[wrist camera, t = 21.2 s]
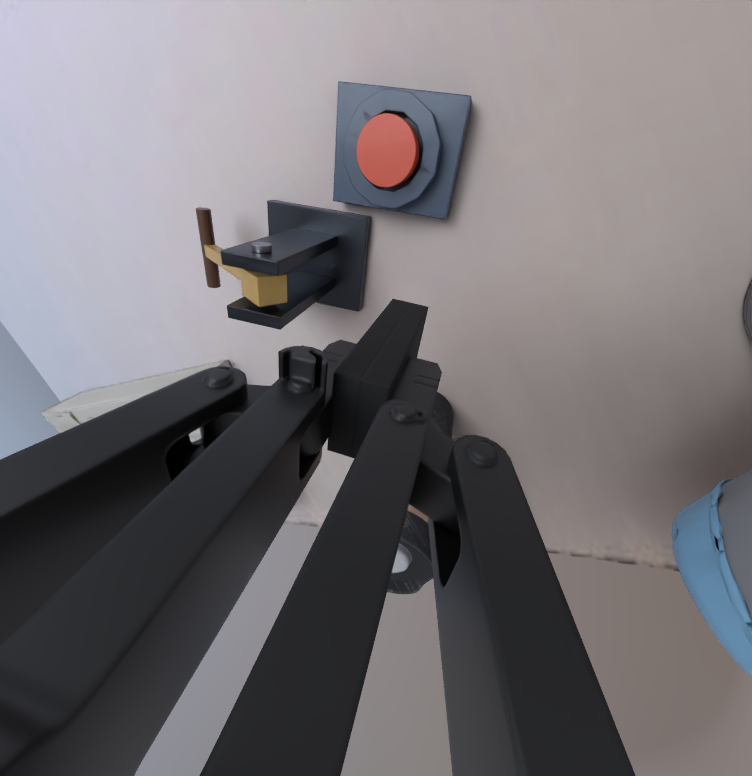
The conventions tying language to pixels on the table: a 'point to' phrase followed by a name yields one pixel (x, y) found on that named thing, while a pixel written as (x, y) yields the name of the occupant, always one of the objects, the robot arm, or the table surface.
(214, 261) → the tap lever
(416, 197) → the button box
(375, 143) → the red button
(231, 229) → the table surface
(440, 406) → the travel mug
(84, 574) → the robot arm
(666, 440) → the table surface
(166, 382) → the box
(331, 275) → the tap bracket
